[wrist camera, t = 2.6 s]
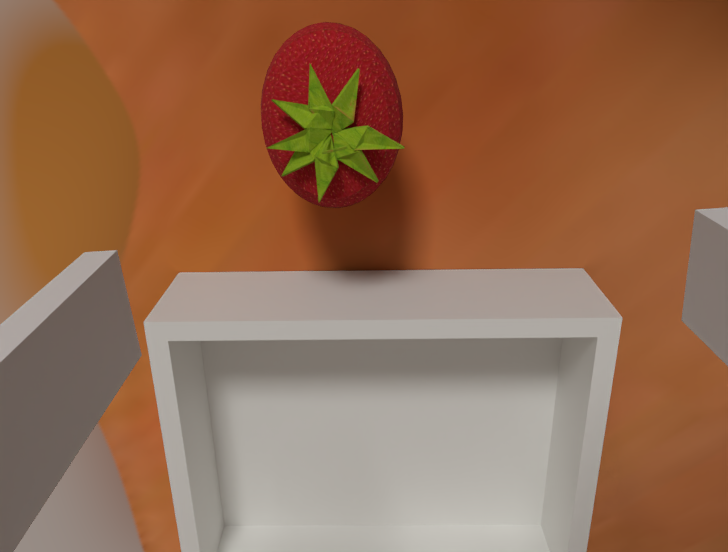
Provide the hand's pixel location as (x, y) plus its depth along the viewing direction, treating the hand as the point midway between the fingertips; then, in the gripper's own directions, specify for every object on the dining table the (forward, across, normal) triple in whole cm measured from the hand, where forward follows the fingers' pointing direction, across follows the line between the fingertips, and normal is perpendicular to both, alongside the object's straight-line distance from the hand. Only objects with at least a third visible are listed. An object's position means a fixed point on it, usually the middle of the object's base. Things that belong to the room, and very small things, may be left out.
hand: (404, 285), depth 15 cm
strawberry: (+19, -2, +2) cm, 19 cm away
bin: (+19, -1, -16) cm, 25 cm away
